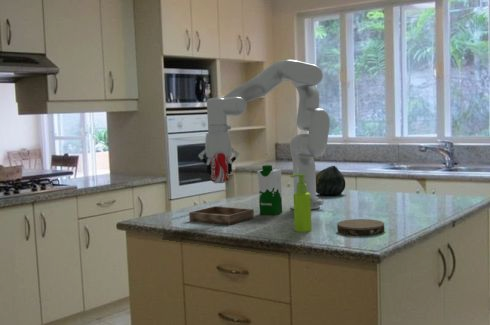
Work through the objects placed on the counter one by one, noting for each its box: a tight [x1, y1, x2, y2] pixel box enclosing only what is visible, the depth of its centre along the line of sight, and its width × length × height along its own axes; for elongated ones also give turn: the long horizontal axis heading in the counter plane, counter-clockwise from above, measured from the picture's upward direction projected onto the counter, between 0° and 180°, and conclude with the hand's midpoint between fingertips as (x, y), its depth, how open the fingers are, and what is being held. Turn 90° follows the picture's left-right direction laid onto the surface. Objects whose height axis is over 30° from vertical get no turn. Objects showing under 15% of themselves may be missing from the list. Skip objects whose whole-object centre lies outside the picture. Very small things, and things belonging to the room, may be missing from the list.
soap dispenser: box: [289, 174, 312, 233], centre depth 218 cm, size 6×7×20 cm
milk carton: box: [256, 164, 283, 216], centre depth 256 cm, size 9×9×20 cm
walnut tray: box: [188, 205, 255, 226], centre depth 247 cm, size 20×16×4 cm
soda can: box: [210, 152, 230, 184], centre depth 245 cm, size 7×7×12 cm
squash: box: [315, 165, 346, 196], centre depth 300 cm, size 14×15×15 cm
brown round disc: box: [336, 218, 385, 237], centre depth 214 cm, size 16×16×3 cm
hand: (219, 174), depth 245 cm, fingers closed on soda can, 7 cm apart
